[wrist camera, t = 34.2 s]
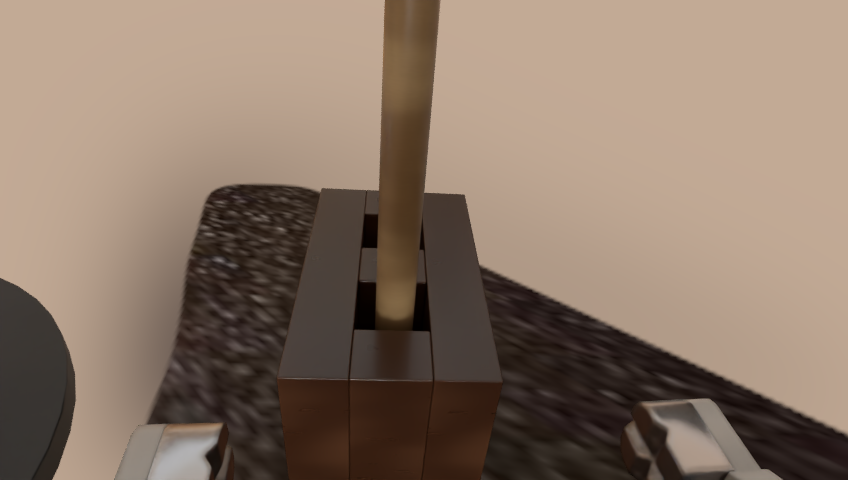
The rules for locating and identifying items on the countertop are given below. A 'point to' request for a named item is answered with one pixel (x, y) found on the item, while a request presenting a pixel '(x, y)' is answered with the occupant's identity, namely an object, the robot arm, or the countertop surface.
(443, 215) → the utensil block
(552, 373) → the countertop surface
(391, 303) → the stirring stick
